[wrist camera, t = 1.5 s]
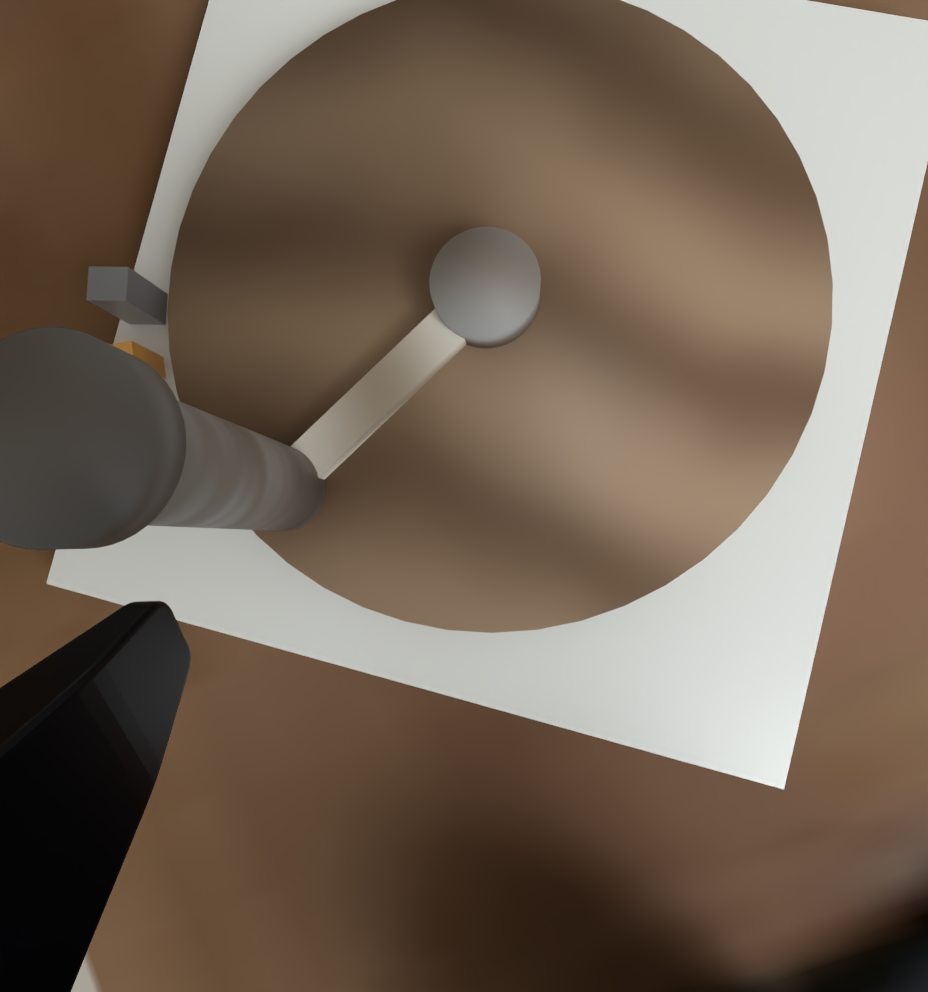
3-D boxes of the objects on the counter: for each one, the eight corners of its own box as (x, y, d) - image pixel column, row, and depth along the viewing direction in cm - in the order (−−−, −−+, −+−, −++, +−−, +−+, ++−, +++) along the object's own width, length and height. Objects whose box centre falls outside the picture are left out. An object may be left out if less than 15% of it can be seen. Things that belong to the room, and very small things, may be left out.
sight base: (765, 771, 21) (817, 821, 17) (76, 580, 23) (-8, 588, 19) (928, 60, 22) (1011, -37, 18) (253, -57, 24) (205, -165, 20)
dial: (731, 702, 19) (1013, 920, 8) (117, 537, 21) (-326, 535, 10) (878, 72, 20) (1313, -498, 9) (275, -35, 22) (24, -620, 11)
